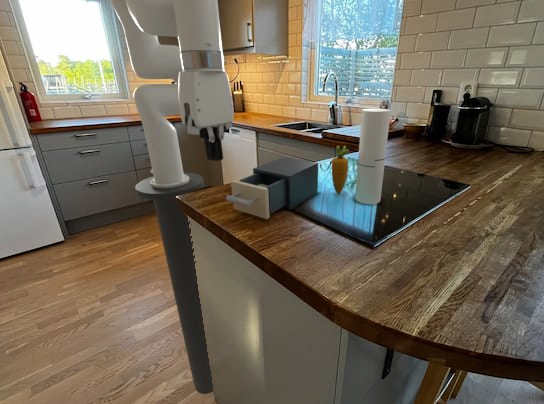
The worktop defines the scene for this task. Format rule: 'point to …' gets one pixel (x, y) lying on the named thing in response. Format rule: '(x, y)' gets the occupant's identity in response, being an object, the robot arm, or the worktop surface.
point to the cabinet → (294, 178)
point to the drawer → (259, 194)
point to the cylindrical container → (372, 155)
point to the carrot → (339, 170)
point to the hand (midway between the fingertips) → (215, 159)
